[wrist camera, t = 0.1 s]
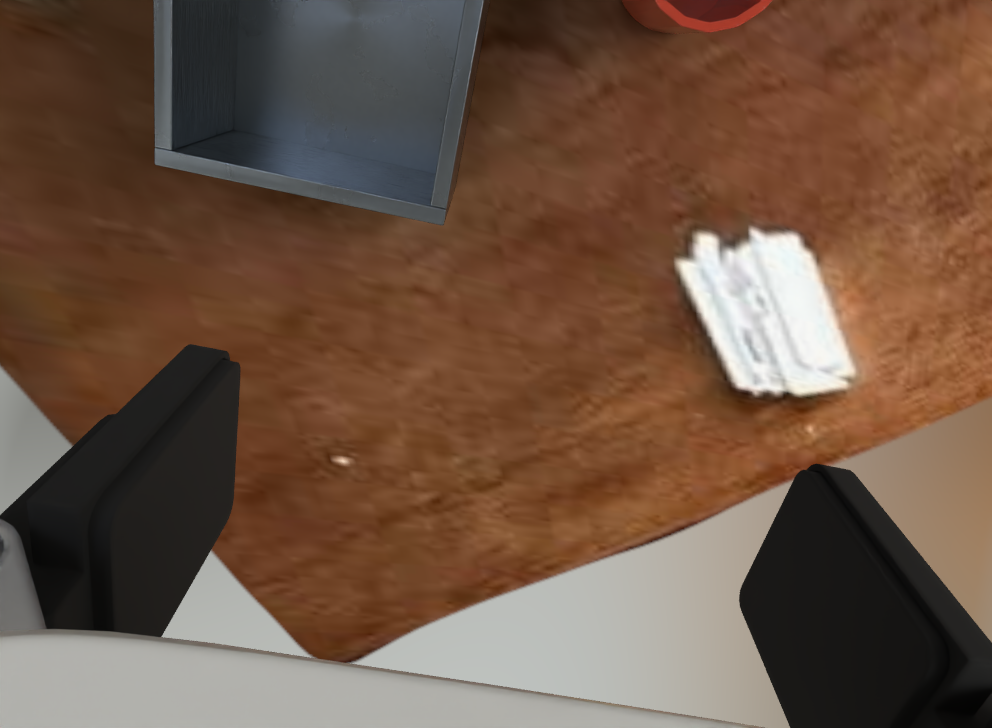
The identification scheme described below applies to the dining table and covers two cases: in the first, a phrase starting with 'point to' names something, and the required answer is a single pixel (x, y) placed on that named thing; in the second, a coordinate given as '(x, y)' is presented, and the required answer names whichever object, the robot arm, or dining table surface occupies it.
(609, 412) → the dining table surface
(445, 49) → the dark open box
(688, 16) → the cup
